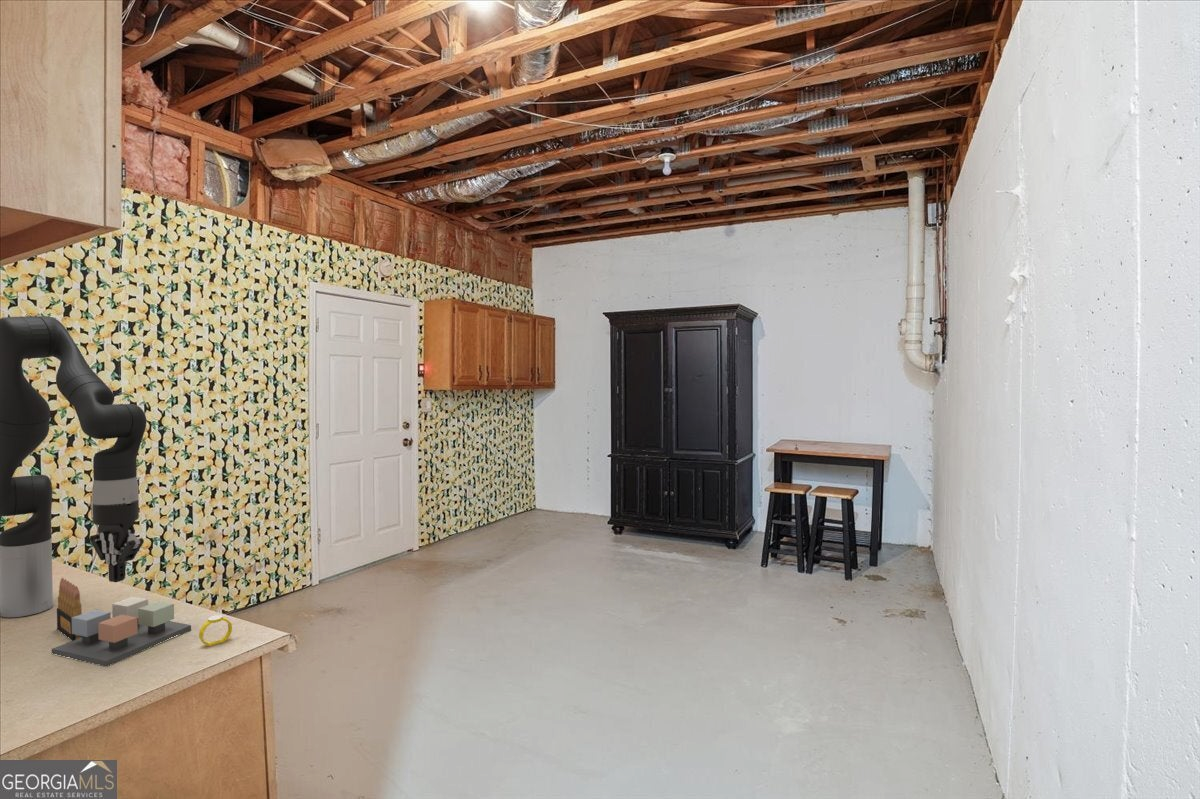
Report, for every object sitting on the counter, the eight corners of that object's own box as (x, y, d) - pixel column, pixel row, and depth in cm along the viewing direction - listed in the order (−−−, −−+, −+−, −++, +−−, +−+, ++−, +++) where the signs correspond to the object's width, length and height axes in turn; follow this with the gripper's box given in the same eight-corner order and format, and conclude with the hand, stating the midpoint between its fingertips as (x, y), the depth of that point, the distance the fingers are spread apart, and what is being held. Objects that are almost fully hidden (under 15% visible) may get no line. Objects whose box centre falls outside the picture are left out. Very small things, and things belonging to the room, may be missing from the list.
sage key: (138, 624, 131) (138, 608, 131) (159, 616, 135) (158, 601, 135) (153, 627, 130) (153, 611, 129) (174, 618, 134) (173, 603, 134)
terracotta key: (98, 639, 123) (98, 622, 123) (122, 630, 128) (121, 614, 128) (114, 642, 122) (114, 626, 122) (137, 633, 126) (137, 617, 126)
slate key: (71, 633, 126) (71, 617, 125) (95, 625, 130) (95, 609, 130) (87, 636, 124) (86, 620, 124) (110, 628, 129) (110, 612, 129)
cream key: (112, 618, 133) (112, 603, 133) (133, 611, 138) (133, 596, 138) (127, 621, 132) (126, 606, 132) (148, 613, 136) (148, 599, 136)
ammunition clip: (84, 638, 131) (83, 585, 130) (73, 641, 129) (72, 588, 129) (67, 626, 137) (66, 575, 136) (56, 629, 135) (55, 578, 135)
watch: (203, 651, 127) (200, 624, 127) (199, 646, 129) (196, 620, 128) (234, 639, 132) (231, 614, 131) (229, 636, 134) (227, 610, 133)
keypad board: (51, 654, 124) (51, 636, 124) (140, 620, 141) (140, 604, 141) (106, 666, 119) (106, 647, 119) (191, 630, 136) (191, 613, 136)
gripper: (73, 500, 122) (74, 583, 123) (119, 505, 118) (120, 591, 119) (112, 493, 129) (113, 571, 130) (157, 498, 125) (158, 578, 126)
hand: (117, 580), depth 124 cm, fingers closed
